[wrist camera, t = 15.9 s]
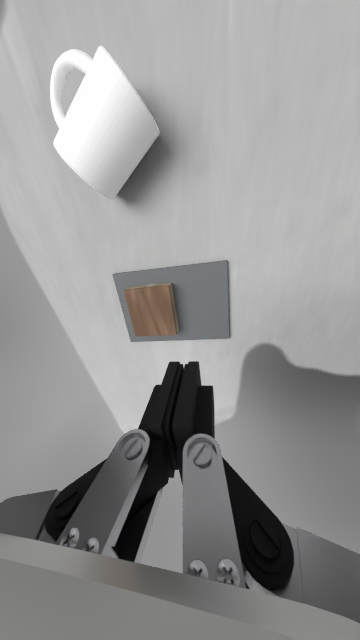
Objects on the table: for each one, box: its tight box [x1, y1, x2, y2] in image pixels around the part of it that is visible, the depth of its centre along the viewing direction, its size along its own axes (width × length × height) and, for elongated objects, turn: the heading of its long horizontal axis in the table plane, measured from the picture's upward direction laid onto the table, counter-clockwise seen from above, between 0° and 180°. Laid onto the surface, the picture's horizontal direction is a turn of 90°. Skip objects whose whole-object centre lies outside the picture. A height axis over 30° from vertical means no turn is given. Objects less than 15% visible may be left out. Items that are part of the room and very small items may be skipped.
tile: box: [124, 283, 179, 337], centre depth 33 cm, size 2×9×8 cm
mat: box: [113, 260, 229, 342], centre depth 33 cm, size 20×14×1 cm
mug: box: [50, 46, 160, 199], centre depth 22 cm, size 12×10×8 cm
